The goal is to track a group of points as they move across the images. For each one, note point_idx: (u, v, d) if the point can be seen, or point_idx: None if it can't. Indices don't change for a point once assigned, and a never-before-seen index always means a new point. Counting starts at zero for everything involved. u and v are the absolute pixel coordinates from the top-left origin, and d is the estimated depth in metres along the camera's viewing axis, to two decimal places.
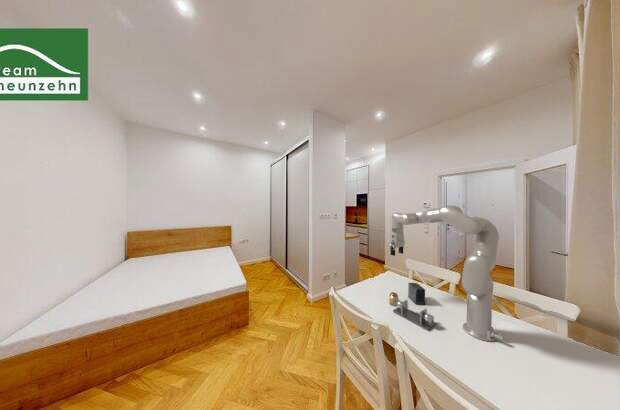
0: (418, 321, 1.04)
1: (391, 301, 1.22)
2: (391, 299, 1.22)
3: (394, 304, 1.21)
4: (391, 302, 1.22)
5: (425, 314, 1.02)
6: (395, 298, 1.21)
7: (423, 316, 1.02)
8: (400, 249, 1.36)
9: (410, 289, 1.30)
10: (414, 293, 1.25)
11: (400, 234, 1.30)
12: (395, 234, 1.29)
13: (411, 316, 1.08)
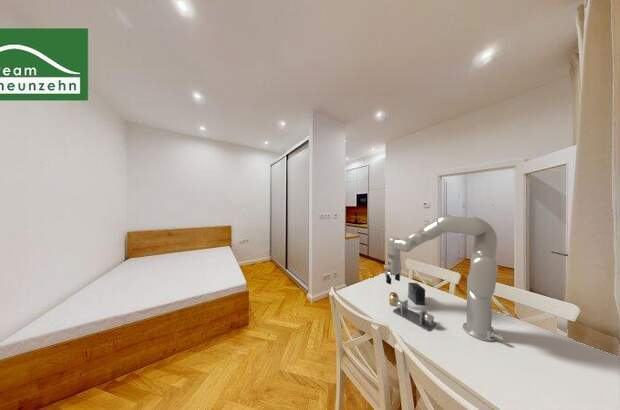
0: (418, 321, 1.04)
1: (391, 301, 1.22)
2: (391, 299, 1.22)
3: (394, 304, 1.21)
4: (391, 302, 1.22)
5: (425, 314, 1.02)
6: (395, 298, 1.21)
7: (423, 316, 1.02)
8: (397, 276, 1.26)
9: (410, 289, 1.30)
10: (414, 293, 1.25)
11: (397, 261, 1.21)
12: (391, 261, 1.20)
13: (411, 316, 1.08)
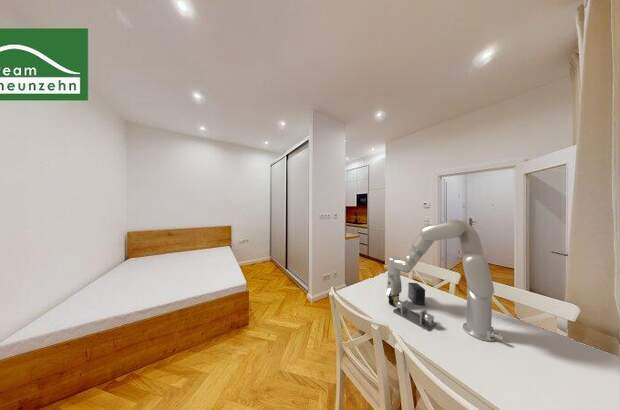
0: (418, 321, 1.04)
1: None
2: None
3: (394, 304, 1.21)
4: None
5: (425, 314, 1.02)
6: (395, 297, 1.21)
7: (423, 316, 1.02)
8: None
9: (410, 289, 1.30)
10: (414, 293, 1.25)
11: (397, 281, 1.21)
12: (391, 281, 1.20)
13: (411, 316, 1.08)
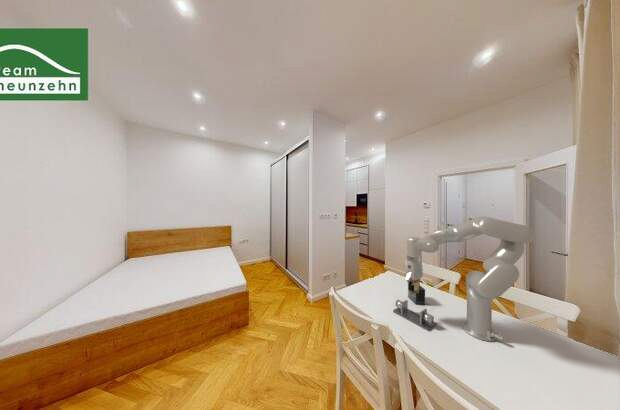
0: (418, 321, 1.04)
1: None
2: None
3: (415, 290, 1.06)
4: None
5: (425, 314, 1.02)
6: (415, 283, 1.06)
7: (423, 316, 1.02)
8: None
9: None
10: (414, 293, 1.25)
11: (418, 264, 1.06)
12: (412, 264, 1.05)
13: (411, 316, 1.08)
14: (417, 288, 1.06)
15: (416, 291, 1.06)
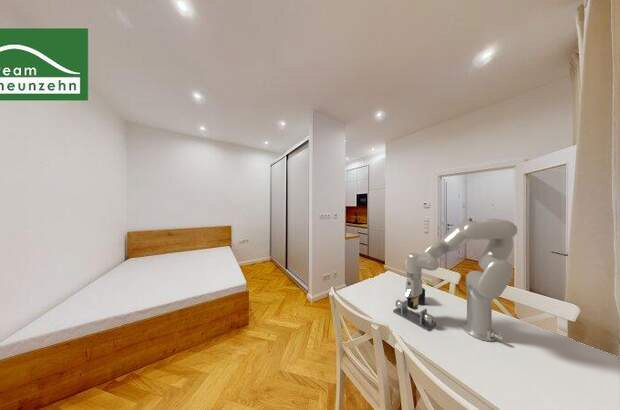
0: (418, 321, 1.04)
1: None
2: None
3: (414, 307, 1.06)
4: None
5: (425, 314, 1.02)
6: (415, 300, 1.06)
7: (423, 316, 1.02)
8: None
9: None
10: None
11: (418, 280, 1.06)
12: (412, 281, 1.05)
13: (411, 316, 1.08)
14: (416, 305, 1.06)
15: (415, 308, 1.06)
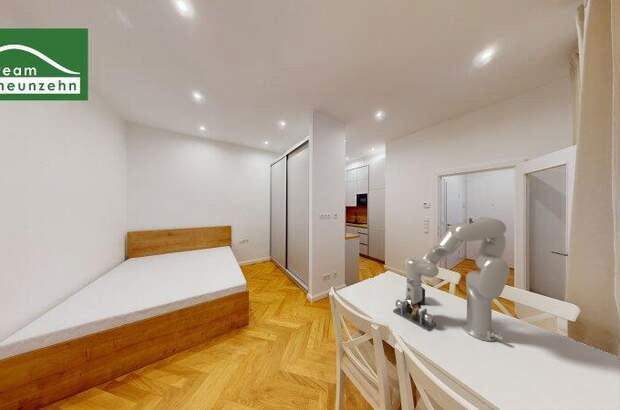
0: (418, 321, 1.04)
1: None
2: None
3: (415, 316, 1.06)
4: (411, 314, 1.07)
5: (425, 314, 1.02)
6: (415, 309, 1.06)
7: (423, 316, 1.02)
8: (417, 303, 1.11)
9: None
10: None
11: (418, 287, 1.06)
12: (412, 287, 1.05)
13: None
14: (417, 314, 1.06)
15: (416, 317, 1.06)
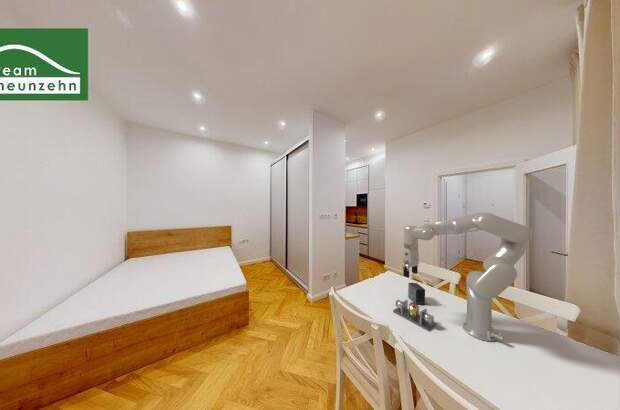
0: (418, 321, 1.04)
1: (411, 313, 1.07)
2: (411, 310, 1.07)
3: (415, 316, 1.06)
4: (411, 314, 1.07)
5: (425, 314, 1.02)
6: (415, 309, 1.06)
7: (423, 316, 1.02)
8: (414, 268, 1.14)
9: (410, 289, 1.30)
10: (414, 293, 1.25)
11: (415, 251, 1.09)
12: (409, 251, 1.08)
13: None
14: (417, 314, 1.06)
15: (416, 317, 1.06)
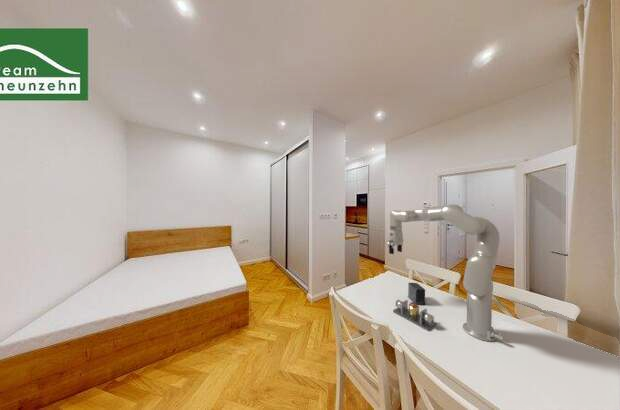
0: (418, 321, 1.04)
1: (411, 313, 1.08)
2: (411, 310, 1.07)
3: (415, 316, 1.06)
4: (411, 314, 1.07)
5: (425, 314, 1.02)
6: (415, 309, 1.06)
7: (423, 316, 1.02)
8: (399, 247, 1.33)
9: (410, 289, 1.30)
10: (414, 293, 1.25)
11: (399, 232, 1.28)
12: (393, 232, 1.27)
13: None
14: (417, 314, 1.06)
15: (416, 317, 1.06)
